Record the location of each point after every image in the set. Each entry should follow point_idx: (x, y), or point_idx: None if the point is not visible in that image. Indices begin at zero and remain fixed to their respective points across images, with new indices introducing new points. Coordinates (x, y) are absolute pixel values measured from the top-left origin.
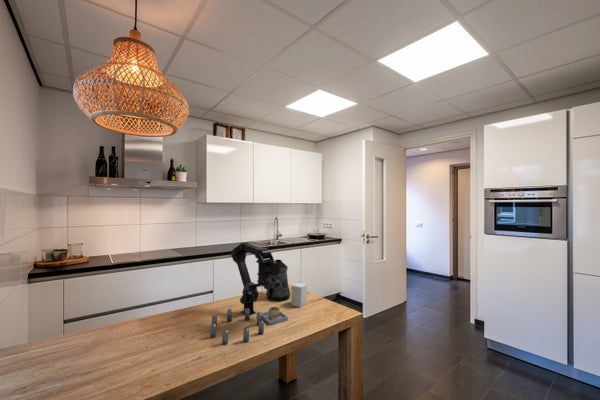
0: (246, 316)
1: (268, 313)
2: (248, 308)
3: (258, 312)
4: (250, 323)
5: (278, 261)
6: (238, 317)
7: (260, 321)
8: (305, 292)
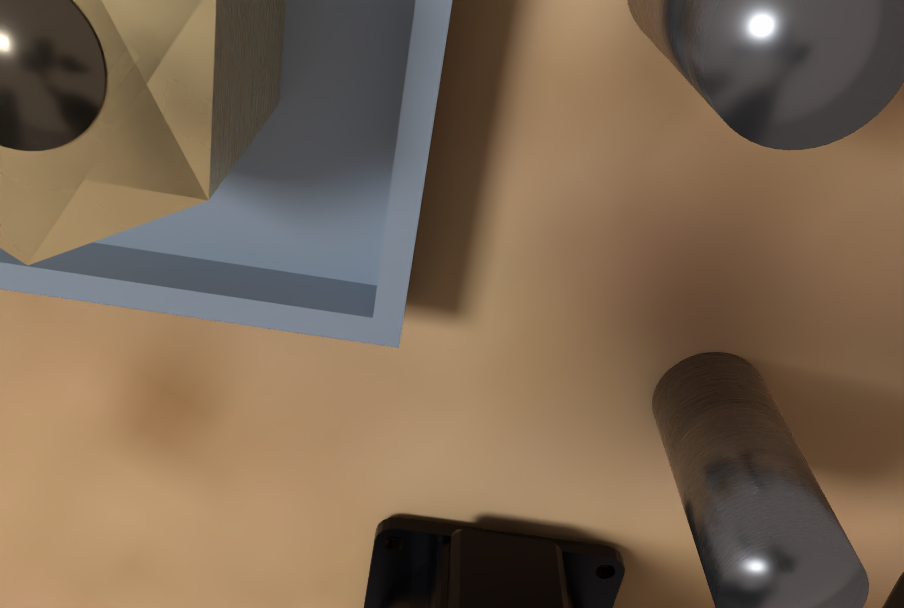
0: (786, 427)
1: (178, 274)
2: (764, 584)
3: (770, 137)
4: (798, 190)
5: None
6: None
7: None
8: None
